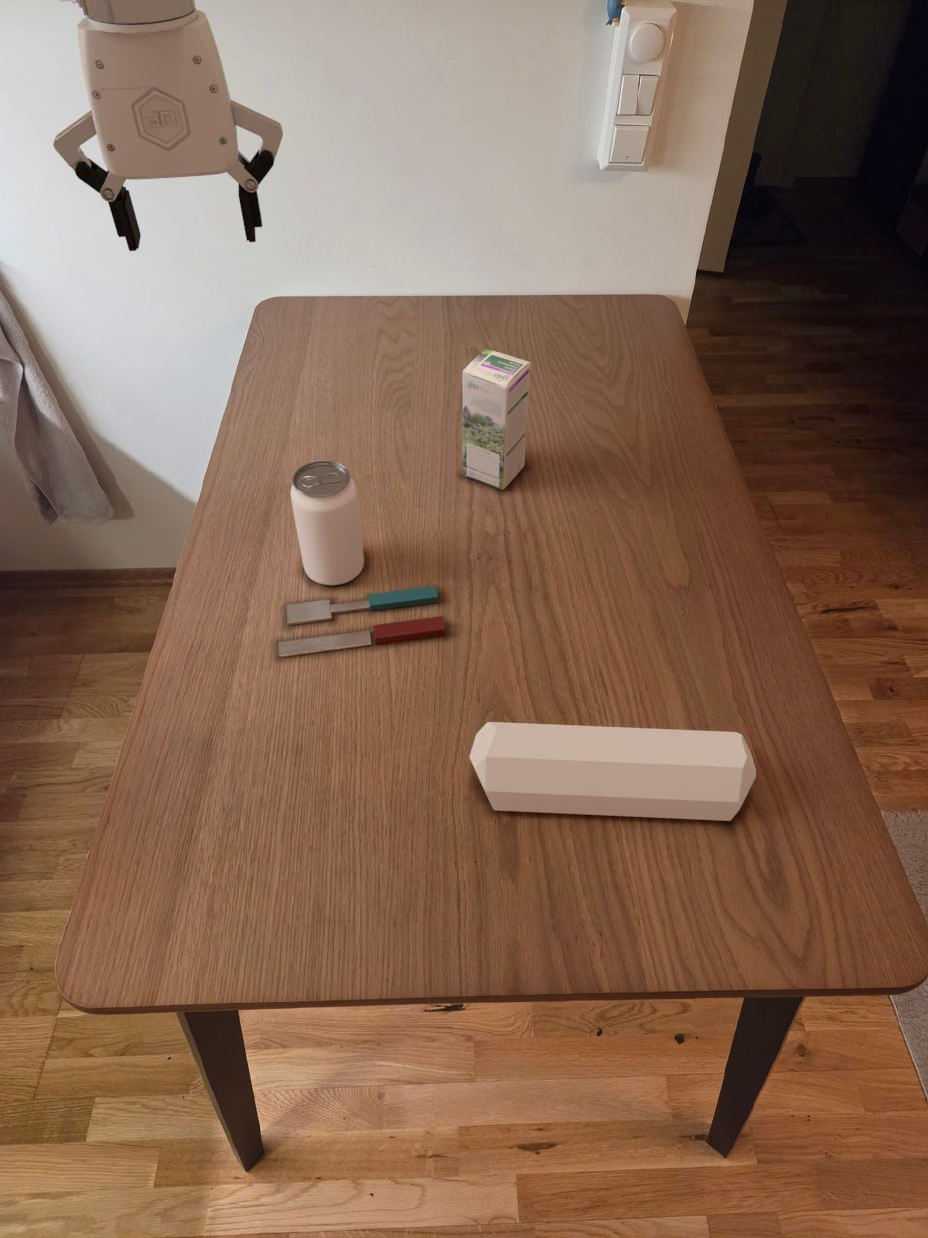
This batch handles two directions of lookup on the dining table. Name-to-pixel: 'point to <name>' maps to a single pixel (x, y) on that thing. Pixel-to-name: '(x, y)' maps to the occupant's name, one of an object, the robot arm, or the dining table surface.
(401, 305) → the dining table surface
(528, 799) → the crystal
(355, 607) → the teal handled spatula
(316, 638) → the knife
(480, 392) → the syrup box
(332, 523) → the can
